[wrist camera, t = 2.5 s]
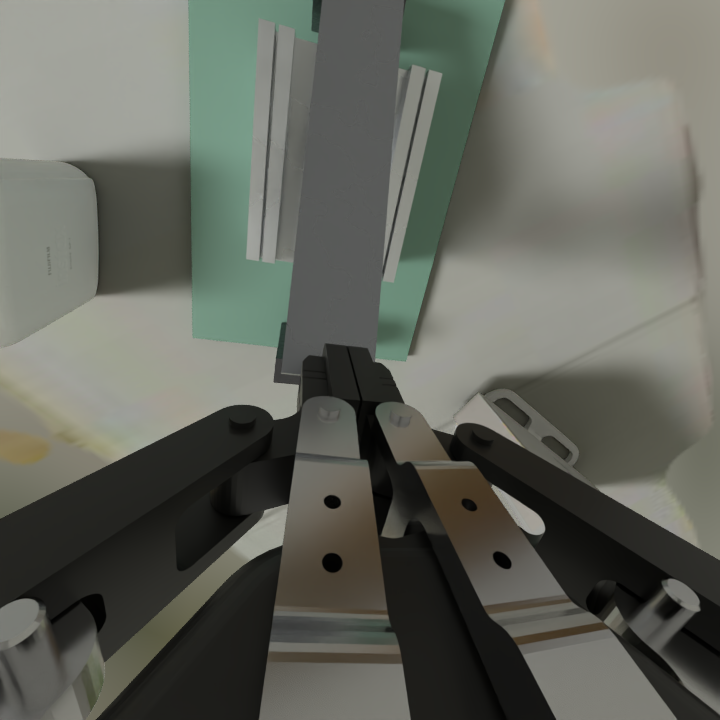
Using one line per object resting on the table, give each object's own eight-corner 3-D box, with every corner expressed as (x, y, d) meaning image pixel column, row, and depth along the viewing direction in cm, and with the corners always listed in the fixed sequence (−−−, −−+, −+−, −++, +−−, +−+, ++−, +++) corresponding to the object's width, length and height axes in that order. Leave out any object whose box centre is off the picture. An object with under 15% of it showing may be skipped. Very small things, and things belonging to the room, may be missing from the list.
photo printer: (103, 303, 30) (-11, 373, 19) (44, 291, 29) (-113, 357, 18) (103, 173, 26) (-42, 167, 15) (34, 152, 25) (-176, 130, 14)
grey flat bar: (322, -35, 18) (325, -69, 17) (402, -7, 19) (411, -37, 18) (276, 373, 16) (276, 371, 14) (371, 382, 17) (378, 381, 15)
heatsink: (274, -23, 22) (262, -110, 15) (425, 26, 24) (471, -31, 17) (251, 339, 32) (238, 379, 26) (358, 351, 34) (371, 391, 28)
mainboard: (192, -111, 20) (186, -127, 19) (498, 0, 25) (507, -9, 24) (196, 332, 32) (192, 337, 31) (402, 356, 36) (405, 361, 35)
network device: (596, 462, 48) (764, 624, 31) (546, 501, 51) (676, 672, 33) (481, 364, 38) (634, 519, 21) (426, 418, 41) (520, 600, 23)
